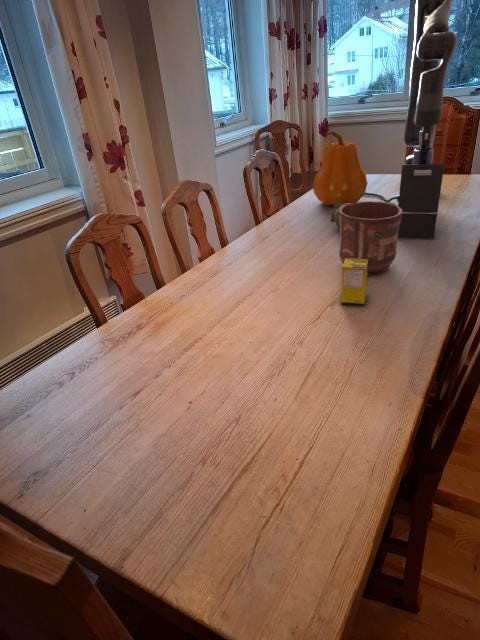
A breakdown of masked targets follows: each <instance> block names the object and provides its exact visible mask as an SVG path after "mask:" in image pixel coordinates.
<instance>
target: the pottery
mask: <svg viewBox="0 0 480 640" xmlns="http://www.w3.org/2000/svg"><path fill="white" fill-rule="evenodd" d="M401 218H402V209H401V208H400V207H398V205H396V204H393V203H390V202H385V201H357V202H355V203H352V204H349V205H346V206H343V207H342V208H341V209H340V210H339V219H340V229H339V245H338V246H339V250H338V251H339V253H338V254H339V260H340V261H341V263H342V265H343V264H344V261H345V258H350V259H368V269H367V276H374V275H375V276H376V275H379V274H381V273H384V272H385V271H387V269H390V267H391V265H392V263H393V262H394V260H395V259H396V255H397V247H398V238H397V237H398V232H399V226H400V222H401Z"/></svg>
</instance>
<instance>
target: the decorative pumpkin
mask: <svg viewBox="0 0 480 640" xmlns="http://www.w3.org/2000/svg"><path fill="white" fill-rule="evenodd" d="M329 135H330V136H331V135H332V136H333V137H335V138H336V139H337V141H336V142H335V143H333V142H331V143H329V144H328V145H327V146H326V148H325V149H324V153H323V159H322V160H321V164H320V167H319V169H318V171H317V172H316V174H315V175H314V179H313V183H312V185H313V186H312V190H313V194H314V196H315V197H316V198H317V200H318V201H319V202H321V203H322V204H324V205H325V206H329V207H330V206H333V205H334V204H336V203H337V204H339V203H340V204H342V205H343V204H345V203H351V204H352V203H358V202H359V200H361V199H362V198H363V196H364V195H363V194H364V193H366V191H367V188H368V187H367V186H368V177H367V174H366V171H365V170H364V169H363V167H362V165H361V162H360V161H361V160H360V158H359V154H358V147H357V146H356V144H355V143H353V142H351V141H350V142H349V141H344V140H343V138H342V135H340V134H339V133H337V132H336V131H329V132H327V133H326V134H325V136H324V137H325V138H324V139H325V140H326V141H327V140H328V137H329Z"/></svg>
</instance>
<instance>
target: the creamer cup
mask: <svg viewBox="0 0 480 640" xmlns="http://www.w3.org/2000/svg"><path fill="white" fill-rule="evenodd" d="M422 149H425V148H422ZM434 153H435V149H434V148H433V147H432V148H429V152H428V153H427V162H426V164H433V160H434ZM421 154H422V153H421ZM412 155H413V163H412V164H419V159H420V148H419V147H416V148H415V149H413V154H412Z"/></svg>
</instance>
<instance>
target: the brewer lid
mask: <svg viewBox="0 0 480 640" xmlns="http://www.w3.org/2000/svg"><path fill="white" fill-rule="evenodd" d="M444 170H445V163H432V164H408V165H405V164H401V172H400V173H401V174H400V182H399V183H400V184H399V194H398V196H399V202H397V206H398V207H400V208H401V209H402V212H431V213H437V214H438V213H439V212H438V211H439V205H440V197H441V190H442V184H443V177H444Z"/></svg>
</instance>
